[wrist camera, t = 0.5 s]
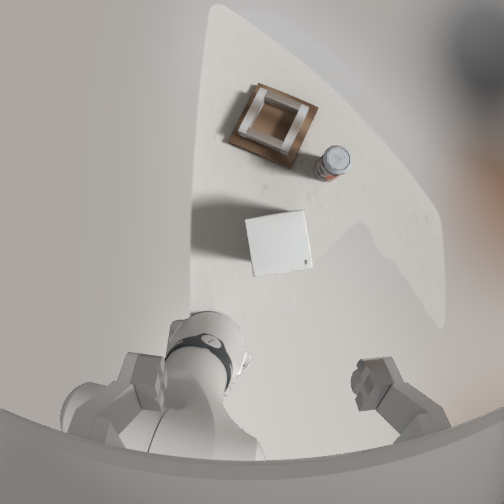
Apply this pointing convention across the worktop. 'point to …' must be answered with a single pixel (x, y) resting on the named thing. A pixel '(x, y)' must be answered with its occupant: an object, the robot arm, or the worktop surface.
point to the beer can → (333, 163)
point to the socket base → (273, 125)
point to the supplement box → (278, 243)
